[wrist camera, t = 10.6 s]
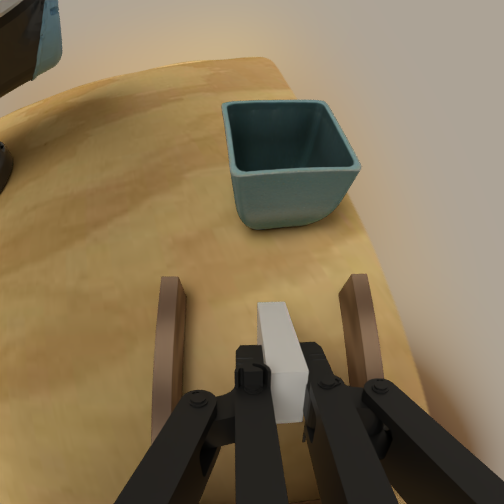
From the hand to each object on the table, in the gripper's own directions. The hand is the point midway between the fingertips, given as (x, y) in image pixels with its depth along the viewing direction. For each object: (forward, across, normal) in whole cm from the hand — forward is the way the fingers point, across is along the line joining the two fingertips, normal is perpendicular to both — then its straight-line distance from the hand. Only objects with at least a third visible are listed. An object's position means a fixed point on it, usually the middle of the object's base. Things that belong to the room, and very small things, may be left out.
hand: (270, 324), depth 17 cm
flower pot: (+13, -2, -5) cm, 14 cm away
